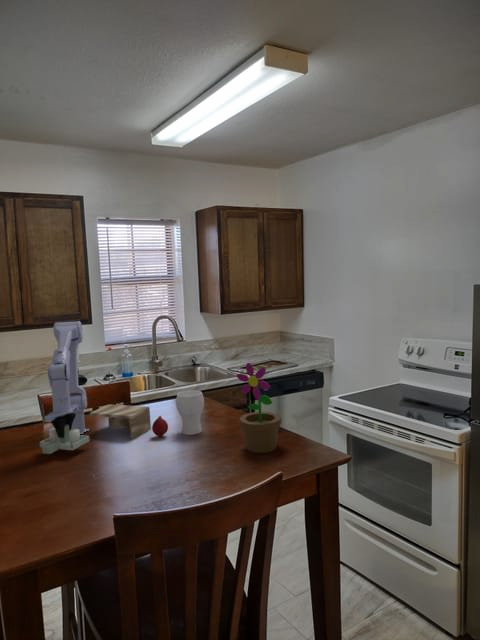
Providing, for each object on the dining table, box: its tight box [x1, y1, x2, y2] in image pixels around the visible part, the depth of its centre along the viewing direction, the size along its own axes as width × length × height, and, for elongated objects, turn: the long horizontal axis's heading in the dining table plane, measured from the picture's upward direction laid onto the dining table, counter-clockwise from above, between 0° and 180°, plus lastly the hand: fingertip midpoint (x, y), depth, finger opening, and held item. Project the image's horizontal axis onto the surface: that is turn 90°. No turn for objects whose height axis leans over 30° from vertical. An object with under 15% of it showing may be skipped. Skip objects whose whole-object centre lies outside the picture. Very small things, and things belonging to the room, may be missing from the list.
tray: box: [39, 424, 91, 455], centre depth 158 cm, size 14×14×7 cm
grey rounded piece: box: [48, 427, 59, 442], centre depth 161 cm, size 3×3×4 cm
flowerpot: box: [236, 362, 282, 454], centre depth 154 cm, size 14×14×30 cm
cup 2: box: [175, 389, 205, 436], centre depth 174 cm, size 11×11×15 cm
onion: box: [151, 415, 169, 438], centre depth 170 cm, size 6×6×8 cm
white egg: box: [69, 429, 80, 444], centre depth 158 cm, size 3×3×4 cm
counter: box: [89, 404, 152, 441], centre depth 178 cm, size 19×12×9 cm, turn 70°
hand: (64, 435), depth 160 cm, fingers closed on tray, 2 cm apart
